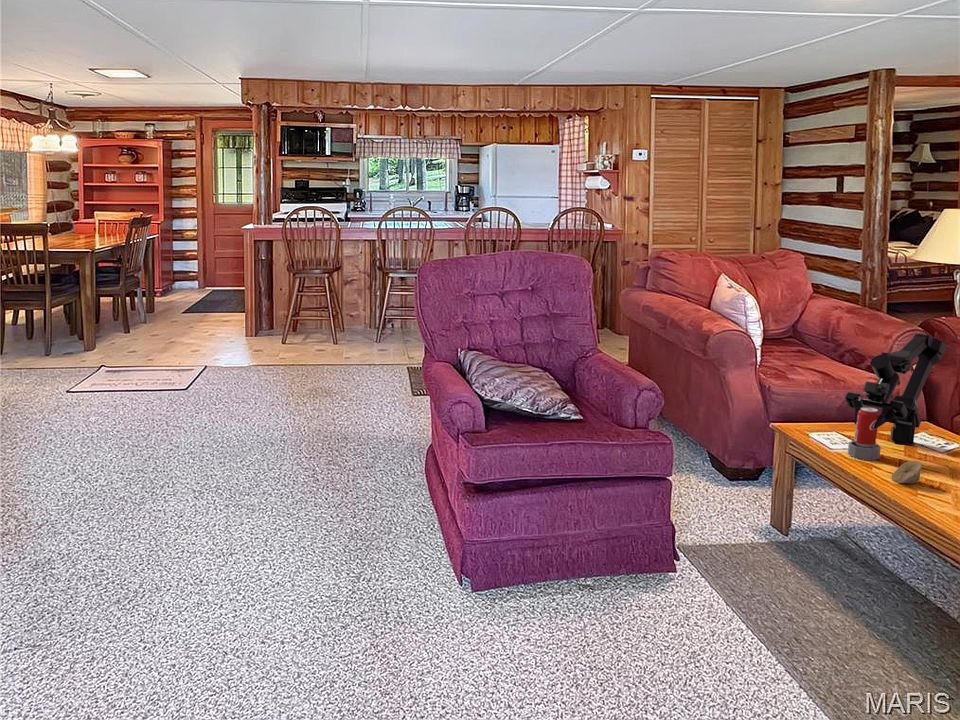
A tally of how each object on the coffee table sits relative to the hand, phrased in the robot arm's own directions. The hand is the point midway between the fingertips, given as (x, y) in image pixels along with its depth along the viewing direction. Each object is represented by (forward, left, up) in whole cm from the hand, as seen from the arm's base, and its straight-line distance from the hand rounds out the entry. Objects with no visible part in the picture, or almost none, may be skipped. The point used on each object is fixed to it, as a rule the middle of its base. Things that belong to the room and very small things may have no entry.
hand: (864, 425), depth 287 cm
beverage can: (-1, -1, -7) cm, 7 cm away
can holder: (-1, -1, -10) cm, 10 cm away
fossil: (-7, +24, -11) cm, 27 cm away
